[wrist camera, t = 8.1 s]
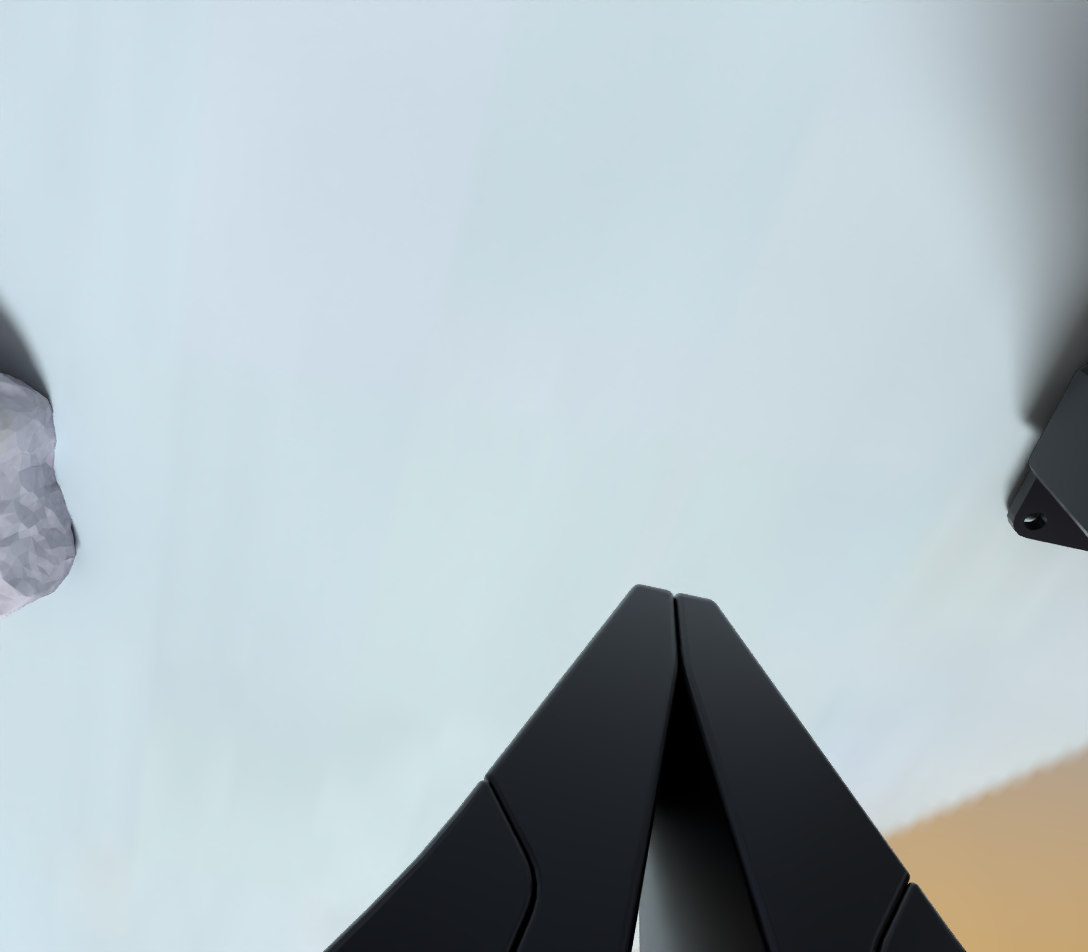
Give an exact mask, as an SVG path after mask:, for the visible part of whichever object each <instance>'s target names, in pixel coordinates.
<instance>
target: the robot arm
mask: <svg viewBox="0 0 1088 952" xmlns="http://www.w3.org/2000/svg"><path fill="white" fill-rule="evenodd" d="M1028 464H1029V466H1030V468H1031V469H1030V471H1029V473H1028V475H1027V476H1026V478H1025V480H1024V482H1023V484H1022V486H1021V488H1020V489H1019V491H1018V493H1017V495H1016V497H1015V499H1014V501H1013V502H1012V504H1011V506H1010V508H1009V511H1008V514H1007V517H1008V521H1009V523H1010V524H1011V526H1012V527H1013V529H1014V530H1015V531H1016V532H1017V533H1018V534H1019V535H1020V536H1023V537H1025V538H1029V539H1034V540H1038V541H1043V542H1048V543H1052V544H1057V545H1062V546H1066V547H1071V548H1076V549H1080V550H1085V551H1088V363H1087V365H1085V366H1083V367H1082V368H1080V369H1079V370H1077V371H1076V372H1075V374H1074V376H1073V378H1072V380H1071V382H1070V383H1069V385H1068V387H1067V389H1066V391H1065V393H1064V395H1063V397H1062V398H1061V400H1060V402H1059V404H1058V406H1057V408H1056V410H1055V412H1054V413H1053V415H1052V417H1051V419H1050V421H1049V423H1048V425H1047V426H1046V428H1045V430H1044V432H1043V434H1042V436H1041V438H1040V440H1039V441H1038V443H1037V445H1036V447H1035V449H1034V451H1033V453H1032V455H1031V456H1030V458H1029V461H1028ZM1033 513H1040V516H1039V517H1038V518H1037V519H1036V520H1034V521H1031V522H1024V520H1025V518H1026V517H1027V516H1028V515H1030V514H1033ZM909 879H910V875H909V873H908V871H907V870H906V868H905V867H904V866H903V864H902V863H901V861H900V860H899V859H898V857H897V856H896V854H895V853H894V852H893V850H892V849H891V848H890V846H889V845H888V843H887V842H886V840H885V839H884V838H883V836H882V835H881V833H880V832H879V831H878V829H877V828H876V826H875V825H874V824H873V822H872V821H871V819H870V818H869V817H868V815H867V814H866V812H865V811H864V810H863V808H862V807H861V805H860V804H859V803H858V801H857V800H856V798H855V797H854V796H853V794H852V793H851V791H850V790H849V789H848V787H847V786H846V784H845V783H844V782H843V780H842V779H841V777H840V776H839V775H838V773H837V772H836V770H835V769H834V768H833V766H832V765H831V763H830V762H829V761H828V759H827V758H826V756H825V755H824V754H823V752H822V751H821V749H820V748H819V747H818V745H817V744H816V742H815V741H814V740H813V738H812V737H811V735H810V734H809V733H808V731H807V730H806V728H805V727H804V726H803V724H802V723H801V721H800V720H799V719H798V717H797V716H796V714H795V713H794V712H793V710H792V709H791V707H790V706H789V705H788V703H787V702H786V700H785V699H784V698H783V696H782V695H781V693H780V692H779V691H778V689H777V688H776V686H775V685H774V684H773V682H772V681H771V679H770V678H769V677H768V675H767V674H766V673H765V671H764V670H763V668H762V667H761V666H760V664H759V663H758V661H757V660H756V659H755V657H754V656H753V654H752V653H751V652H750V650H749V649H748V647H747V646H746V645H745V643H744V642H743V640H742V639H741V638H740V636H739V635H738V633H737V632H736V631H735V629H734V628H733V626H732V625H731V624H730V622H729V621H728V619H727V618H726V617H725V615H724V614H723V612H722V611H721V610H720V608H719V607H718V605H717V604H716V603H715V602H714V601H712V600H710V599H706V598H702V597H697V596H692V595H688V594H683V593H678V594H676V595H675V596H674V597H673V594H672V593H671V592H670V591H668V590H664V589H660V588H655V587H651V586H646V585H641V584H637V585H635V586H634V587H633V588H632V589H631V590H630V591H629V592H628V594H627V595H626V596H625V598H624V599H623V600H622V601H621V603H620V604H619V605H618V606H617V608H616V609H615V610H614V612H613V613H612V614H611V615H610V617H609V618H608V619H607V621H606V622H605V623H604V624H603V626H602V627H601V628H600V629H599V631H598V632H597V633H596V635H595V636H594V637H593V638H592V640H591V641H590V642H589V643H588V645H587V646H586V647H585V649H584V650H583V651H582V652H581V654H580V655H579V656H578V657H577V659H576V660H575V661H574V663H573V664H572V665H571V666H570V668H569V669H568V670H567V672H566V673H565V674H564V675H563V677H562V678H561V679H560V680H559V682H558V683H557V684H556V686H555V687H554V688H553V689H552V691H551V692H550V693H549V694H548V696H547V697H546V698H545V700H544V701H543V702H542V703H541V705H540V706H539V707H538V708H537V710H536V711H535V712H534V714H533V715H532V716H531V717H530V719H529V720H528V721H527V722H526V724H525V725H524V726H523V728H522V729H521V730H520V731H519V733H518V734H517V735H516V737H515V738H514V739H513V740H512V742H511V743H510V744H509V745H508V747H507V748H506V749H505V751H504V752H503V753H502V754H501V756H500V757H499V758H498V759H497V761H496V762H495V763H494V765H493V766H492V767H491V768H490V770H489V771H488V772H487V773H486V775H485V777H484V781H480V782H479V783H478V784H477V785H476V787H475V788H474V789H473V791H472V792H471V793H470V794H469V796H468V797H467V798H466V799H465V801H464V802H463V803H462V805H461V806H460V807H459V808H458V810H457V811H456V812H455V813H454V814H453V816H452V817H451V818H450V819H449V820H448V822H447V823H446V824H445V825H444V826H443V827H442V829H441V830H440V831H439V832H438V833H437V835H436V836H435V837H434V838H433V839H432V840H431V842H430V843H429V844H428V845H427V846H426V847H425V849H424V850H423V851H422V852H421V853H420V855H419V856H418V857H417V858H416V859H415V860H414V861H413V862H412V863H411V864H410V865H409V866H408V867H407V868H406V869H405V870H404V871H403V872H402V874H401V875H400V876H399V877H398V878H397V879H396V880H395V881H394V882H393V883H392V884H391V885H390V886H389V887H388V888H387V889H386V890H385V891H384V892H383V893H382V894H381V895H380V896H379V897H378V898H377V899H376V900H375V901H374V902H373V904H372V905H371V906H370V907H369V908H368V909H367V910H366V911H365V912H364V913H363V914H362V915H360V916H359V917H358V918H357V919H356V920H355V921H354V922H353V923H352V924H351V925H350V926H349V927H348V928H347V929H346V930H345V931H344V932H343V933H342V934H341V935H340V936H339V937H338V938H337V939H336V940H335V941H334V942H333V943H332V944H331V945H330V946H329V947H328V948H326V949H325V950H324V951H323V952H632V946H633V940H634V934H635V928H636V922H637V916H638V911H639V938H640V952H966V951H965V949H964V948H963V947H962V945H961V944H960V943H959V941H958V940H957V939H956V937H955V936H954V935H953V933H952V932H951V931H950V929H949V928H948V927H947V925H946V924H945V922H944V921H943V920H942V918H941V917H940V916H939V914H938V912H937V911H936V910H935V909H934V907H933V906H932V904H931V903H930V901H929V900H928V899H927V897H926V896H925V894H924V893H923V892H922V890H921V889H920V887H919V886H918V885H917V884H915V883H909V884H908V882H909ZM907 884H908V885H907Z"/></svg>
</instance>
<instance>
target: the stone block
mask: <svg viewBox="0 0 1088 952" xmlns="http://www.w3.org/2000/svg"><path fill="white" fill-rule="evenodd" d="M55 446H56V435H55V428H54V422H53V411H52V409H51V406H50V404H49V401H48V399H47V398H45V397H44V396H43V395H42V394H40V393H39V392H37V391H36V390H34V389H33V388H32V387H30V386H29V385H28V384H26V383H25V382H24V381H22V380H21V379H17V378H14V377H12V376H10V375H8V374H4V373H2V372H0V617H4V616H8V615H10V614H12V613H13V612H15V611H17V610H19V609H21V608H22V607H24V606H25V605H27V604H29V603H32V602H33V601H35V600H37V599H38V598H41V597H43V596H46V595H49V594H51V593H52V592H54V591H55V590H56V589H57V587H58V586H59V585H60V584H61V582H62V581H63V580H64V579H65V577H66V576H67V575H68V573H69V571H70V569H71V566H72V564H73V561H74V559H75V556H76V550H75V546H74V538H73V533H72V530H71V524H72V519H71V517H70V515H69V513H68V510H67V508H66V503H65V500H64V497H63V494H62V491H61V489H60V487H59V485H58V484H57V483H56V478H55V473H54V468H53V467H54V450H55Z"/></svg>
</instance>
